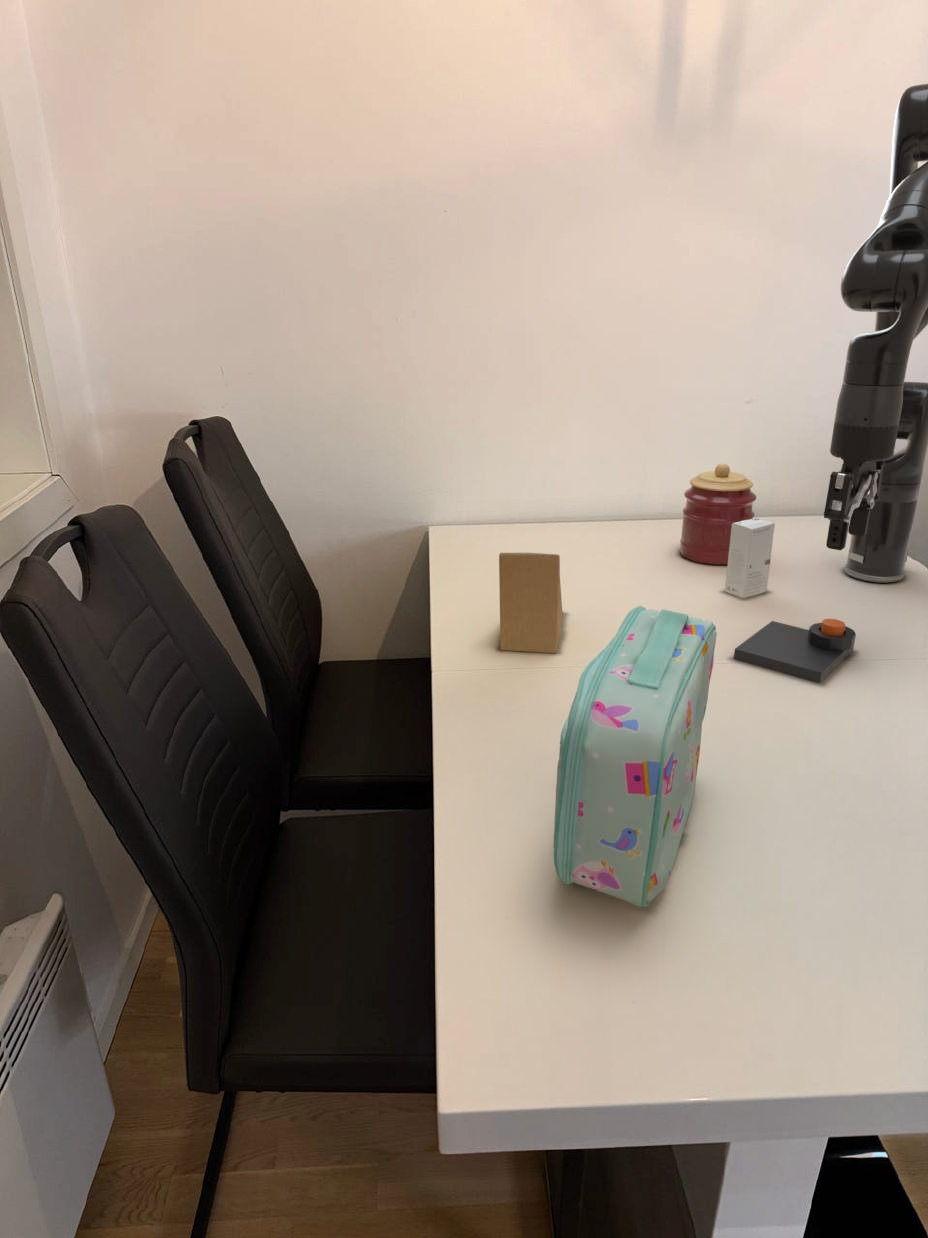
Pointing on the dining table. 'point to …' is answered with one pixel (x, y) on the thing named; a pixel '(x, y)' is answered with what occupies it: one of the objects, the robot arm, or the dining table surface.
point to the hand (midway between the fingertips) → (846, 541)
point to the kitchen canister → (714, 513)
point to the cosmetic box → (749, 557)
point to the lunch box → (633, 755)
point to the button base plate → (796, 650)
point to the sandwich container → (530, 602)
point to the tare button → (833, 627)
